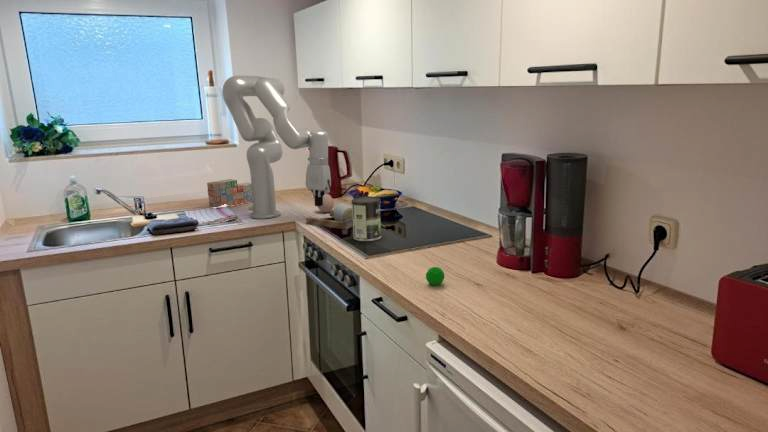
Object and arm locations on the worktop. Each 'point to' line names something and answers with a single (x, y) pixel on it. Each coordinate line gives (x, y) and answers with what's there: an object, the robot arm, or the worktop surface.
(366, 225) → the coffee can
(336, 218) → the light bulb
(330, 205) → the egg
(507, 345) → the worktop surface
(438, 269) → the green ball
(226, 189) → the stack of blocks
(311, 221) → the brown flat slab
